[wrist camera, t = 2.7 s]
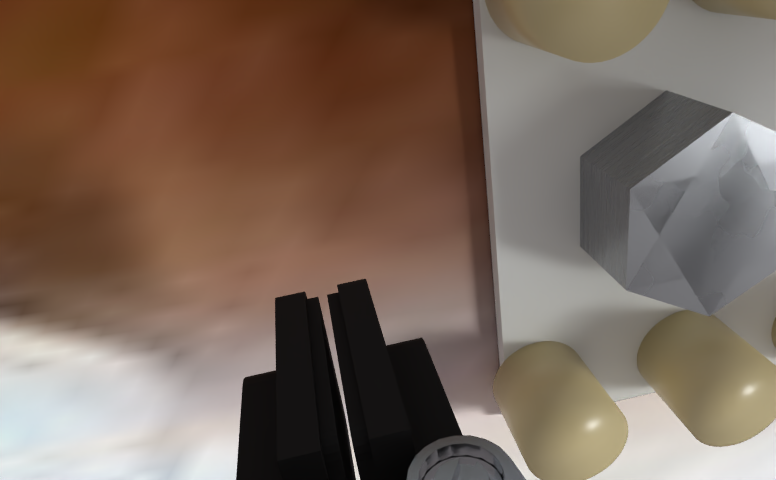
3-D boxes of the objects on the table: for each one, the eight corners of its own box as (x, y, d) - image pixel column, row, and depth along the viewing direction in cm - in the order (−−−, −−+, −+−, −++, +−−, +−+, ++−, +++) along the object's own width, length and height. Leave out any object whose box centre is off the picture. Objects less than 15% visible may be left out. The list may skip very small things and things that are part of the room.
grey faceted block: (749, 74, 15) (830, 93, 13) (727, 255, 17) (792, 298, 15) (580, 105, 14) (632, 131, 12) (580, 286, 17) (624, 335, 14)
